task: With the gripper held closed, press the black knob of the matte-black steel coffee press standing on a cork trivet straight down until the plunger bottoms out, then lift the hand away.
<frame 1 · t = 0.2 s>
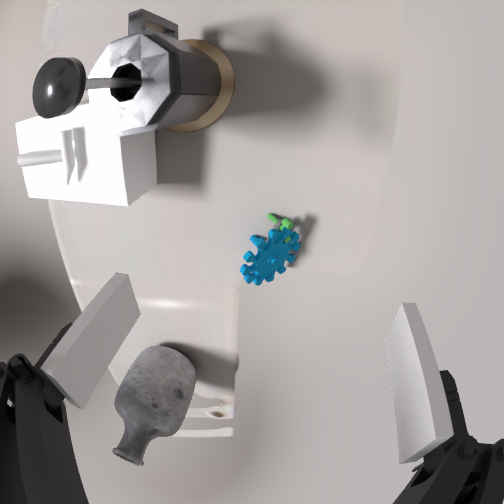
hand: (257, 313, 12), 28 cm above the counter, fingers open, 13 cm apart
carafe: (183, 84, 31), resting on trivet
plunger: (108, 83, 17), point 17 cm above the counter, slide at -0.1 cm
gear: (275, 241, 42), on the counter
vase: (173, 356, 64), on the counter
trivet: (185, 85, 32), on the counter
tissue box: (95, 140, 38), on the counter, touching carafe, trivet
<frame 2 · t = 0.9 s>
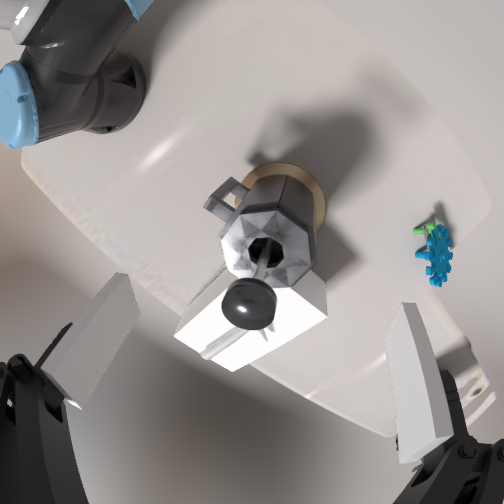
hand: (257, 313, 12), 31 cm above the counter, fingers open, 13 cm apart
carafe: (279, 208, 42), resting on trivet
plunger: (261, 265, 28), point 17 cm above the counter, slide at -0.1 cm
gear: (431, 241, 40), on the counter
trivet: (280, 207, 42), on the counter
tissue box: (250, 295, 52), on the counter, touching carafe, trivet
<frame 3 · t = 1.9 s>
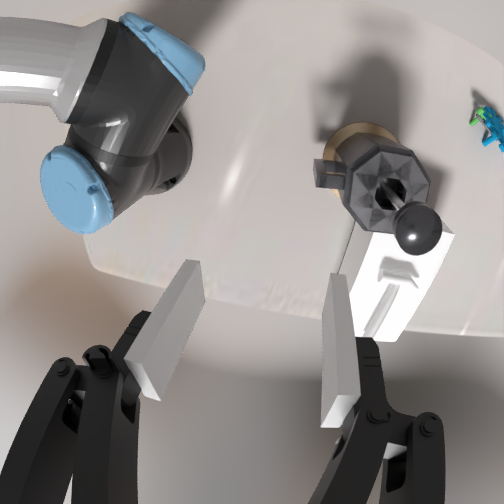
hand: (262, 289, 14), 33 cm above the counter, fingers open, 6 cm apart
carafe: (365, 165, 39), resting on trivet
plunger: (397, 202, 25), point 17 cm above the counter, slide at -0.1 cm
gear: (487, 126, 30), on the counter
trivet: (365, 164, 40), on the counter
tissue box: (378, 261, 48), on the counter, touching carafe, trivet
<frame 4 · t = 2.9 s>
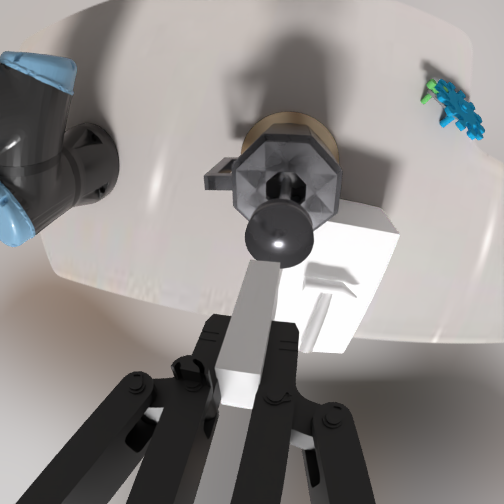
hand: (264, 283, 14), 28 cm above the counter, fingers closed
carafe: (289, 159, 37), resting on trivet
plunger: (284, 201, 23), point 17 cm above the counter, slide at -0.1 cm
gear: (445, 104, 28), on the counter
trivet: (289, 159, 38), on the counter
tissue box: (319, 265, 46), on the counter, touching carafe, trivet
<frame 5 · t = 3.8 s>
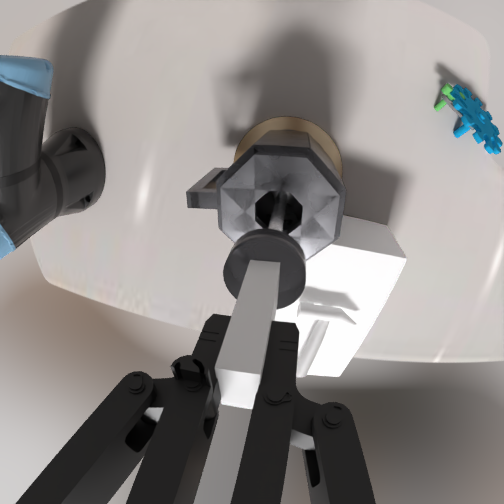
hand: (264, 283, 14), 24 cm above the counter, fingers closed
carafe: (287, 170, 34), resting on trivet
plunger: (276, 223, 20), point 16 cm above the counter, slide at 0.6 cm, touching gripper
gear: (460, 112, 25), on the counter
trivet: (287, 169, 34), on the counter
tissue box: (317, 284, 43), on the counter, touching carafe, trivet
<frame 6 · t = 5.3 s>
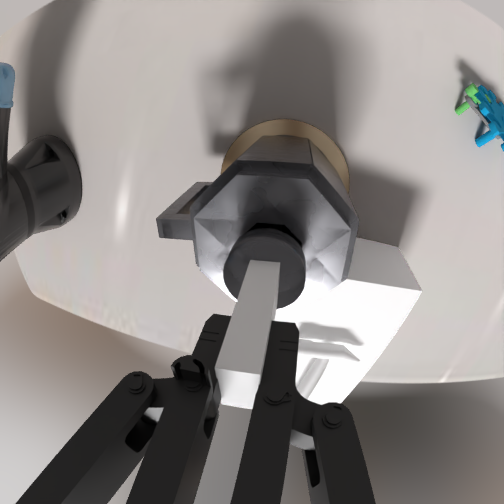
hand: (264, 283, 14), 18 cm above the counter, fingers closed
carafe: (284, 184, 29), resting on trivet
plunger: (276, 223, 20), point 11 cm above the counter, slide at 6.5 cm, touching gripper
gear: (483, 118, 20), on the counter
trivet: (284, 182, 29), on the counter
tissue box: (317, 310, 38), on the counter, touching carafe, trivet
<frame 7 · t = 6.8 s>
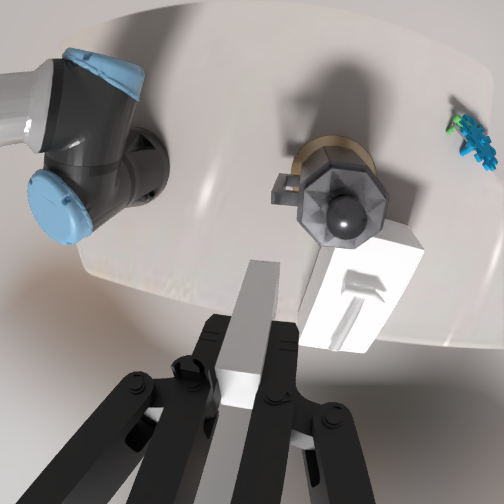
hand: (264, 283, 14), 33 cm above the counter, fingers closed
carafe: (334, 178, 41), resting on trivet
plunger: (340, 198, 33), point 11 cm above the counter, slide at 6.5 cm
gear: (466, 136, 32), on the counter
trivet: (334, 177, 42), on the counter
tissue box: (349, 273, 50), on the counter, touching carafe, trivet
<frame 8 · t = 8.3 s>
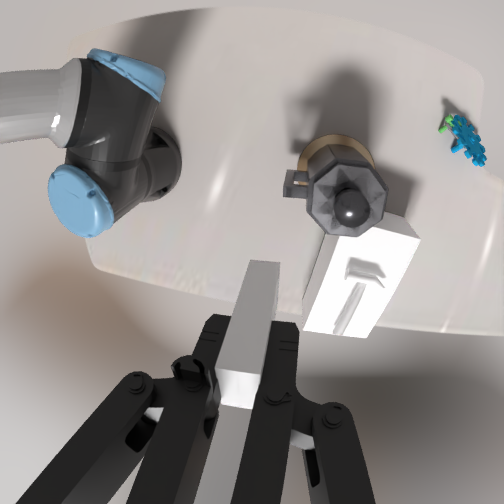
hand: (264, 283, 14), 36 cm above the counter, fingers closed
carafe: (336, 174, 45), resting on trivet
plunger: (344, 192, 36), point 11 cm above the counter, slide at 6.5 cm
gear: (457, 134, 36), on the counter
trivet: (336, 173, 45), on the counter
tissue box: (350, 262, 54), on the counter, touching carafe, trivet
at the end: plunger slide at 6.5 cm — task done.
